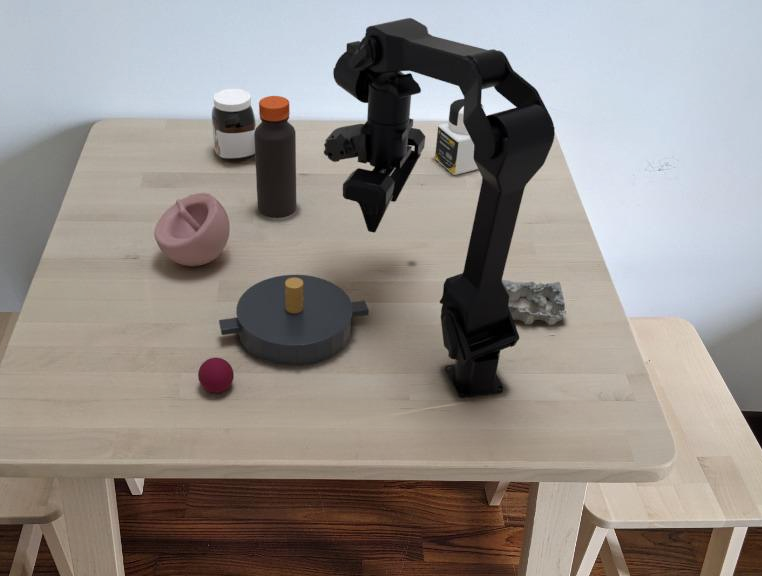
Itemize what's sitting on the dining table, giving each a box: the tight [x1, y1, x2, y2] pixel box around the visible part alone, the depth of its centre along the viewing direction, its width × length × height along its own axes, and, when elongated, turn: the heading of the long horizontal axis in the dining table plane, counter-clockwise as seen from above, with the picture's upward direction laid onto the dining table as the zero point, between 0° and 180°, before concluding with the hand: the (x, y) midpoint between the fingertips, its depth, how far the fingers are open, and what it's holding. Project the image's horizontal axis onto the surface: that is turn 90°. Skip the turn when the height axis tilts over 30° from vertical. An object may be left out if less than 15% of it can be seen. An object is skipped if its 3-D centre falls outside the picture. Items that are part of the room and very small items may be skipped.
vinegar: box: [254, 95, 297, 219], centre depth 153 cm, size 7×7×20 cm
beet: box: [197, 357, 235, 394], centre depth 124 cm, size 5×5×5 cm
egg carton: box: [502, 279, 567, 326], centre depth 136 cm, size 11×8×4 cm
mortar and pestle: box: [153, 192, 231, 267], centre depth 145 cm, size 12×12×12 cm
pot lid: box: [235, 274, 353, 348], centre depth 130 cm, size 17×17×6 cm
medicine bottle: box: [434, 98, 485, 176], centre depth 168 cm, size 7×7×12 cm
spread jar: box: [211, 88, 257, 164], centre depth 171 cm, size 12×11×12 cm
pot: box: [218, 300, 370, 367], centre depth 133 cm, size 16×22×4 cm
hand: (382, 215), depth 134 cm, fingers open, 9 cm apart
